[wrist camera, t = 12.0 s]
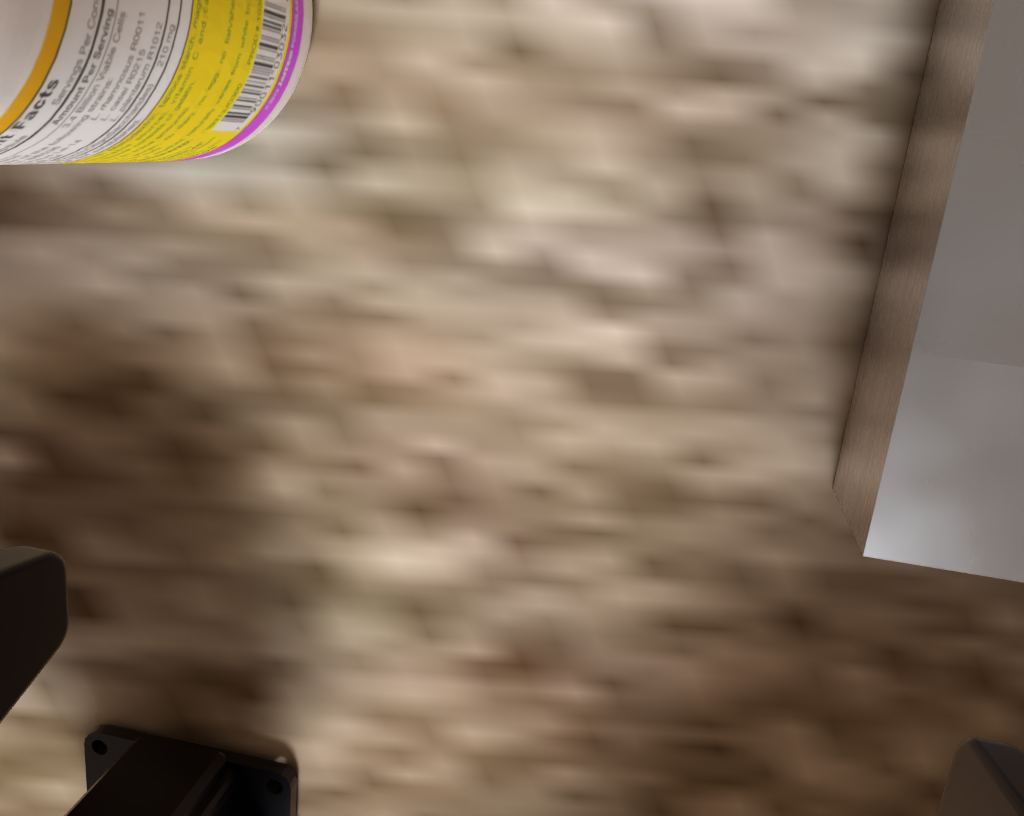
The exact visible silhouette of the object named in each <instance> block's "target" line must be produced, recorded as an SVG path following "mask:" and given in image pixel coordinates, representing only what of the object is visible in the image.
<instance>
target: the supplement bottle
mask: <svg viewBox="0 0 1024 816" xmlns="http://www.w3.org/2000/svg"><path fill="white" fill-rule="evenodd" d="M312 18H313V7H312V0H0V165H20V164H68V163H112V162H149V161H151V162H153V161H180V160H191V159H200V158H206V157H210V156H215V155H219V154H222V153H224V152H227V151H229V150H232V149H234V148H236V147H238V146H240V145H242V144H244V143H246V142H247V141H249V140H250V139H252V138H253V137H255V136H256V135H258V134H259V133H260V132H261V131H262V130H264V129H265V128H266V127H267V126H268V125H269V124H270V123H271V122H272V121H273V120H274V119H275V117H276V116H277V115H278V114H279V113H280V112H281V110H282V109H283V108H284V106H285V105H286V103H287V102H288V100H289V99H290V97H291V95H292V94H293V92H294V90H295V88H296V86H297V84H298V81H299V79H300V77H301V74H302V72H303V69H304V66H305V63H306V59H307V56H308V51H309V46H310V40H311V33H312Z"/></svg>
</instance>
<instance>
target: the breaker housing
mask: <svg viewBox="0 0 1024 816" xmlns="http://www.w3.org/2000/svg"><path fill="white" fill-rule="evenodd" d="M833 490H834V492H835V495H836V497H837V499H838V501H839V504H840V506H841V508H842V510H843V512H844V515H845V517H846V519H847V521H848V524H849V526H850V528H851V530H852V533H853V535H854V537H855V539H856V542H857V544H858V546H859V548H860V551H861V553H862V555H863V556H865V557H871V558H878V559H884V560H890V561H896V562H902V563H908V564H914V565H920V566H926V567H932V568H938V569H944V570H951V571H957V572H963V573H969V574H975V575H981V576H987V577H993V578H999V579H1005V580H1011V581H1017V582H1024V0H940V3H939V8H938V12H937V17H936V21H935V26H934V31H933V35H932V40H931V44H930V49H929V53H928V58H927V62H926V67H925V71H924V76H923V80H922V85H921V90H920V94H919V99H918V103H917V108H916V112H915V117H914V121H913V126H912V130H911V135H910V139H909V144H908V149H907V153H906V158H905V162H904V167H903V171H902V176H901V180H900V185H899V189H898V194H897V198H896V203H895V207H894V212H893V217H892V221H891V226H890V230H889V235H888V239H887V244H886V248H885V253H884V257H883V262H882V266H881V271H880V276H879V280H878V285H877V289H876V294H875V298H874V303H873V307H872V312H871V316H870V321H869V325H868V330H867V334H866V339H865V344H864V348H863V353H862V357H861V362H860V366H859V371H858V375H857V380H856V384H855V389H854V393H853V398H852V403H851V407H850V412H849V416H848V421H847V425H846V430H845V434H844V439H843V443H842V448H841V452H840V457H839V462H838V466H837V471H836V475H835V480H834V484H833Z"/></svg>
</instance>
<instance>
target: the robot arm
mask: <svg viewBox="0 0 1024 816" xmlns="http://www.w3.org/2000/svg"><path fill="white" fill-rule="evenodd" d="M68 624H69V615H68V594H67V573H66V564H65V561H64V559H63V558H62V556H61V555H59V554H58V553H57V552H54V551H50V550H45V549H40V548H35V547H30V546H17V547H12V548H7V549H2V550H0V723H1V721H2V720H3V719H4V718H5V716H6V715H7V714H8V713H9V711H10V710H11V709H12V707H13V706H14V705H15V704H16V702H17V701H18V700H19V698H20V697H21V696H22V695H23V693H24V692H25V691H26V689H27V688H28V687H29V686H30V684H31V683H32V682H33V681H34V679H35V678H36V677H37V675H38V674H39V673H40V672H41V670H42V669H43V668H44V666H45V665H46V664H47V663H48V661H49V660H50V659H51V658H52V656H53V655H54V654H55V652H56V651H57V650H58V649H59V647H60V646H61V644H62V642H63V640H64V638H65V636H66V633H67V629H68ZM102 741H103V742H104V743H105V744H106V745H105V744H104V743H103V742H102ZM84 747H85V764H86V780H87V792H86V793H85V794H84V795H83V796H82V797H81V798H80V800H79V801H78V802H77V803H76V804H75V805H74V806H73V807H72V808H71V809H70V810H69V811H68V812H67V813H66V814H65V815H64V816H296V796H297V779H296V775H295V773H294V771H293V770H292V769H291V768H290V767H288V766H287V765H285V764H282V763H279V762H274V761H270V760H265V759H261V758H256V757H252V756H247V755H243V754H238V753H234V752H229V751H225V750H220V749H216V748H211V747H207V746H202V745H197V744H193V743H188V742H184V741H179V740H175V739H170V738H166V737H161V736H157V735H152V734H148V733H143V732H139V731H134V730H130V729H125V728H121V727H116V726H112V725H105V724H101V725H99V726H97V727H96V728H95V729H94V730H93V731H92V732H91V733H90V734H89V735H88V736H87V737H86V738H85V743H84ZM273 779H275V780H277V781H279V782H280V783H281V784H282V785H280V784H278V783H276V782H275V781H274V780H273ZM937 816H1024V753H1023V752H1022V751H1021V750H1019V749H1018V748H1016V747H1014V746H1012V745H1009V744H1005V743H1000V742H994V741H989V740H984V739H979V738H973V737H969V738H966V739H965V740H963V741H962V742H961V743H960V745H959V746H958V748H957V750H956V753H955V756H954V759H953V762H952V766H951V769H950V772H949V775H948V778H947V782H946V785H945V788H944V791H943V794H942V798H941V801H940V804H939V807H938V811H937Z"/></svg>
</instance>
